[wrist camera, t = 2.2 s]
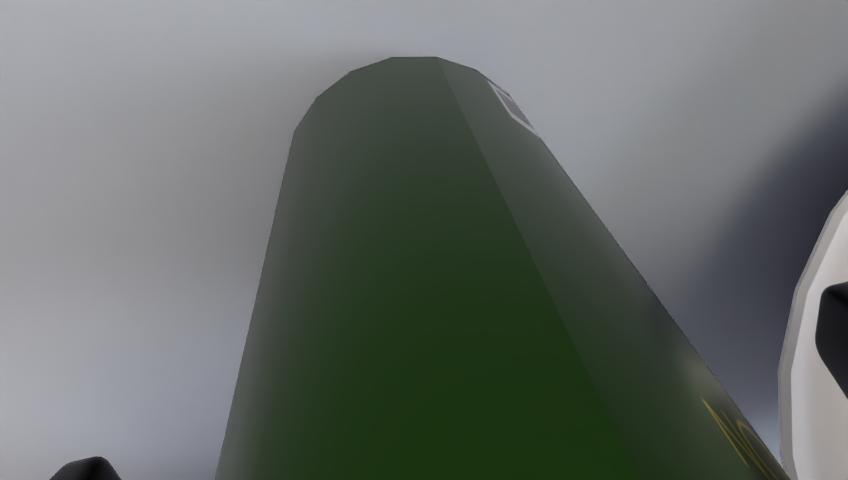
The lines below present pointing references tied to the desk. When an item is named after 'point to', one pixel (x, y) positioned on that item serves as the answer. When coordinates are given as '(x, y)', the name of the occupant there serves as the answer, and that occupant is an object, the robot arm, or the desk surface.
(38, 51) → the desk surface
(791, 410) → the bowl
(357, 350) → the beer can
